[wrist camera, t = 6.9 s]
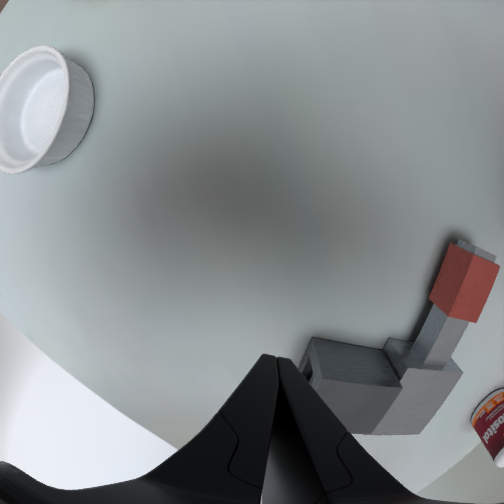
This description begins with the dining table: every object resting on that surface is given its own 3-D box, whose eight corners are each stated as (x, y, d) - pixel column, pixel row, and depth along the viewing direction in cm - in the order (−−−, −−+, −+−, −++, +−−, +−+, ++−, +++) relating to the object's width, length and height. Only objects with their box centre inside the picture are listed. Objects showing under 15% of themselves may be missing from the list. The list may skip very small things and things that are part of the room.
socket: (381, 349, 21) (403, 387, 17) (356, 394, 23) (370, 434, 18) (312, 337, 21) (323, 379, 16) (291, 385, 22) (295, 428, 18)
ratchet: (484, 250, 19) (514, 265, 15) (405, 405, 23) (419, 434, 19) (369, 204, 18) (394, 214, 14) (294, 395, 23) (298, 429, 19)
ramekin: (18, 175, 18) (-18, 181, 14) (24, 75, 16) (-10, 68, 12) (100, 163, 18) (65, 165, 14) (108, 47, 16) (77, 27, 12)
